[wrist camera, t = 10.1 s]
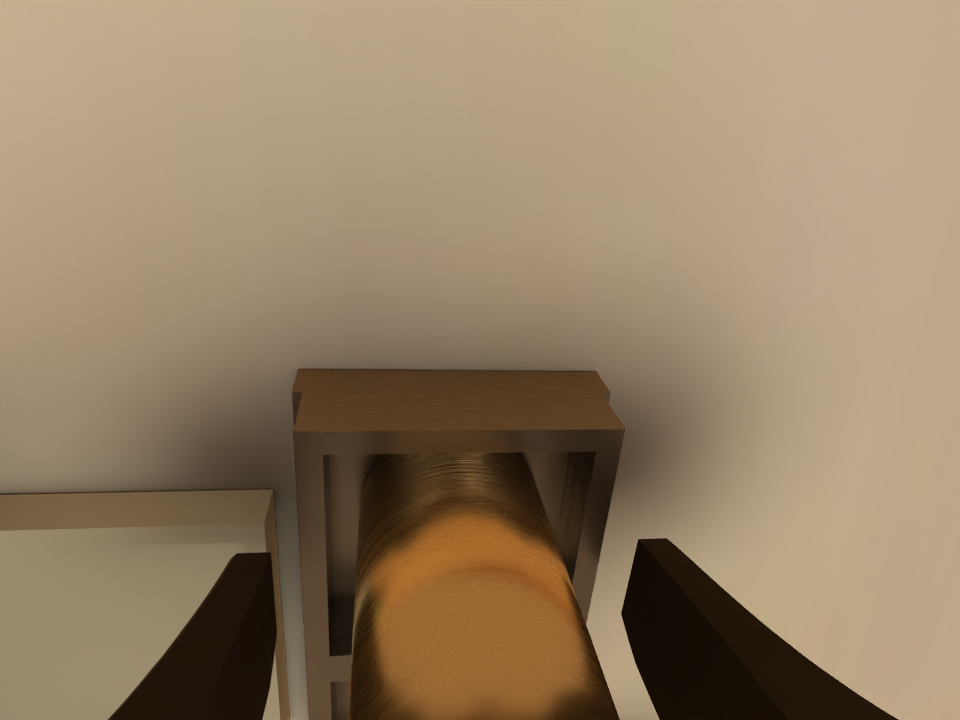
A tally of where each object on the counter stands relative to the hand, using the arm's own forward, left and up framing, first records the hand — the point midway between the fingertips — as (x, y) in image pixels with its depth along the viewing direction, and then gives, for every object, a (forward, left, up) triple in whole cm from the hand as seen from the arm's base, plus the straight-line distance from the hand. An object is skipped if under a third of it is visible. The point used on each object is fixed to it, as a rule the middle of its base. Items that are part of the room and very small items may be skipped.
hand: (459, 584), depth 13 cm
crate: (0, -3, -3) cm, 4 cm away
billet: (0, 0, -2) cm, 2 cm away
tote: (-8, -4, -3) cm, 9 cm away
